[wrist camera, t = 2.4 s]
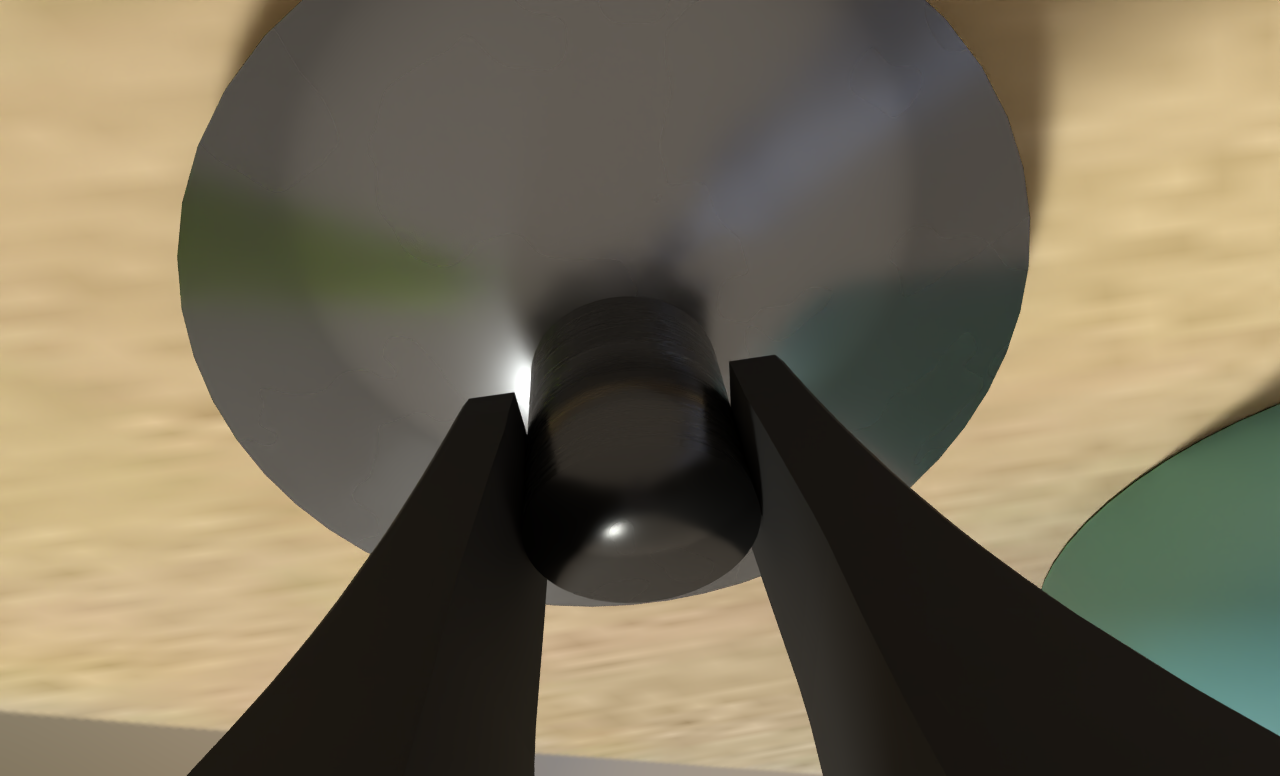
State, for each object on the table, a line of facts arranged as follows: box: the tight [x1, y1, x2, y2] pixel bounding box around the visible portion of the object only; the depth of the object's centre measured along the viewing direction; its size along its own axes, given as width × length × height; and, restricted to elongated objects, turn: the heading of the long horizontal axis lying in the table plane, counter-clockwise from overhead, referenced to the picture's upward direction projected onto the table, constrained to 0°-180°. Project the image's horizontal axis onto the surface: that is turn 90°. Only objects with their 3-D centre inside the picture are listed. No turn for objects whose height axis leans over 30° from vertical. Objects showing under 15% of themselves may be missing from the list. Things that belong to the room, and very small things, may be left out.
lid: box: [177, 0, 1030, 607], centre depth 10 cm, size 12×12×4 cm
